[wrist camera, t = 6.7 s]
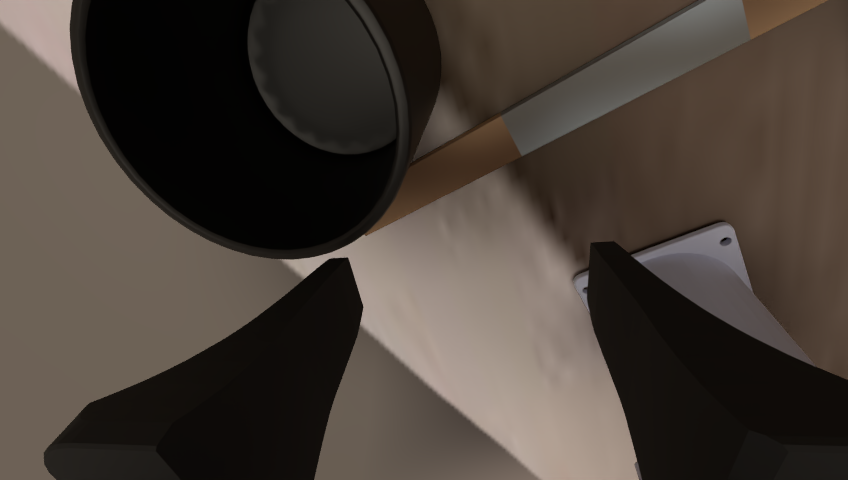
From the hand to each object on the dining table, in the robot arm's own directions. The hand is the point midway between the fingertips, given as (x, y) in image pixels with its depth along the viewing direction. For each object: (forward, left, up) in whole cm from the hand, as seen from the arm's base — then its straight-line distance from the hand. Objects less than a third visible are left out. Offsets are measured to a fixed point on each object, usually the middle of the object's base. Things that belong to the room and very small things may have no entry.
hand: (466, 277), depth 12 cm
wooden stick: (0, -7, -10) cm, 12 cm away
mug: (+8, +3, -10) cm, 13 cm away
